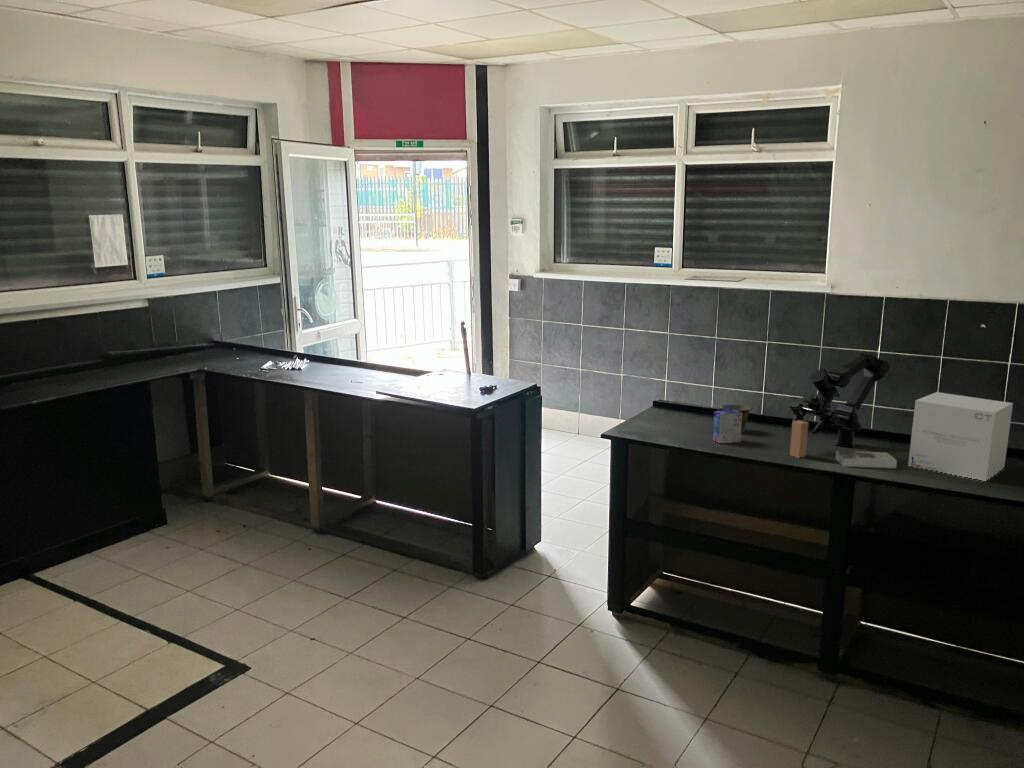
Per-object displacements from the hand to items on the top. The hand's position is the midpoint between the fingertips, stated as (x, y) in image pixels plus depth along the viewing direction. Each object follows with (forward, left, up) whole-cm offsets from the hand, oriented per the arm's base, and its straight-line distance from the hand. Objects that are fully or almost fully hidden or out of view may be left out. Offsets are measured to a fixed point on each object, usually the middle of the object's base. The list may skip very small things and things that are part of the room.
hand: (802, 430), depth 297 cm
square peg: (+1, -1, -9) cm, 10 cm away
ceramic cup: (-24, -31, -10) cm, 40 cm away
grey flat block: (-1, +22, -9) cm, 24 cm away
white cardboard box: (-12, +51, -10) cm, 53 cm away
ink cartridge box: (-6, -29, -10) cm, 31 cm away
